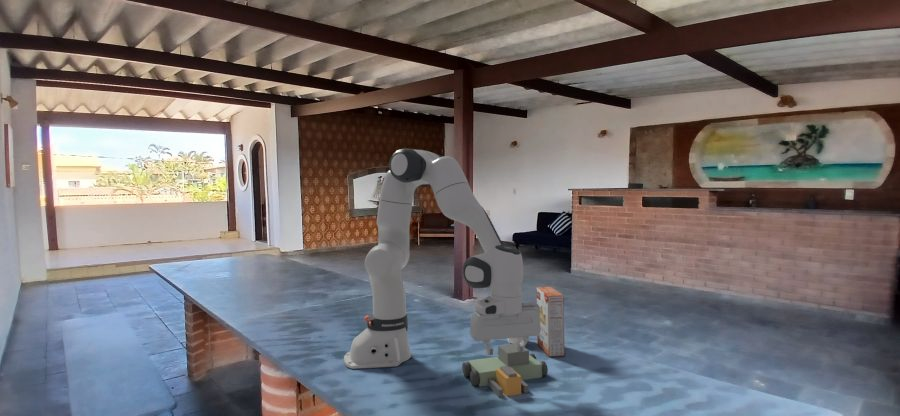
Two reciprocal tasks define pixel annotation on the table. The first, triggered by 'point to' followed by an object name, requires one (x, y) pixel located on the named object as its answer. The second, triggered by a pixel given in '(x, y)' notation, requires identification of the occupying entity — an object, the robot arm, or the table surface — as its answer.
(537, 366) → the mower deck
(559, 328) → the cracker box
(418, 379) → the table surface
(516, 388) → the orange block grey plate
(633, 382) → the table surface
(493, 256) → the robot arm
